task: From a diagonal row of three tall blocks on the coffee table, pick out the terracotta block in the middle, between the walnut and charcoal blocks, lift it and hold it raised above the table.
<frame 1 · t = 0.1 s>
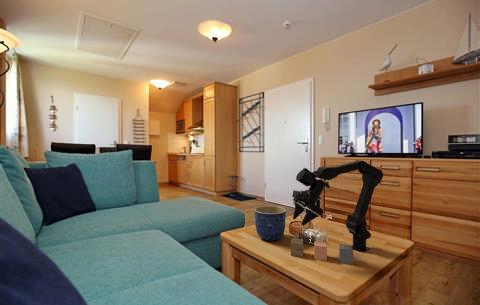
hand: (297, 221, 102), 15 cm above the table, tool tilted 30°, fingers open, 9 cm apart
walnut block: (297, 254, 103), on the table
walkie-talkie: (303, 241, 118), on the table
planter: (270, 237, 123), on the table
charcoal block: (345, 261, 96), on the table
terracotta block: (320, 257, 100), on the table
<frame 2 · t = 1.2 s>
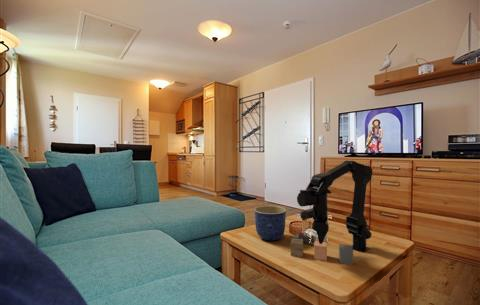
hand: (320, 239, 100), 8 cm above the table, tool pointing down, fingers open, 9 cm apart
nothing on the table moved.
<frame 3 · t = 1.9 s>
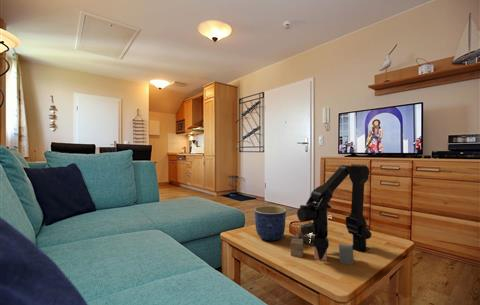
hand: (320, 254, 100), 1 cm above the table, tool pointing down, fingers open, 9 cm apart
nothing on the table moved.
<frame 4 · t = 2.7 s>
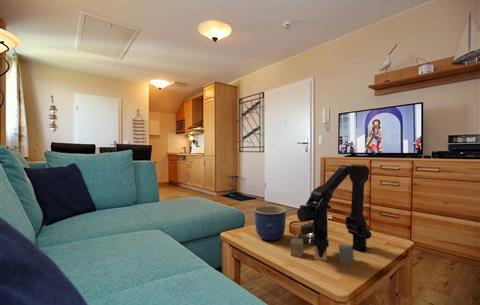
hand: (320, 254, 100), 1 cm above the table, tool pointing down, fingers closed on terracotta block, 5 cm apart
terracotta block: (320, 257, 100), on the table, touching gripper
everything else where it was.
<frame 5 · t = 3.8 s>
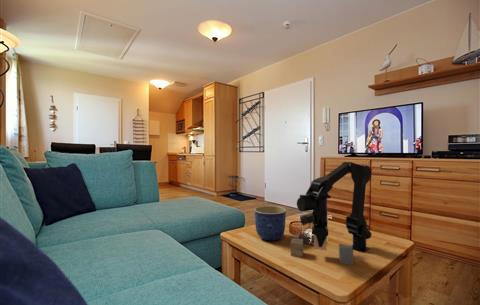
hand: (320, 244, 99), 6 cm above the table, tool pointing down, fingers closed on terracotta block, 5 cm apart
terracotta block: (320, 247, 99), point 4 cm above the table, touching gripper
everything else where it was.
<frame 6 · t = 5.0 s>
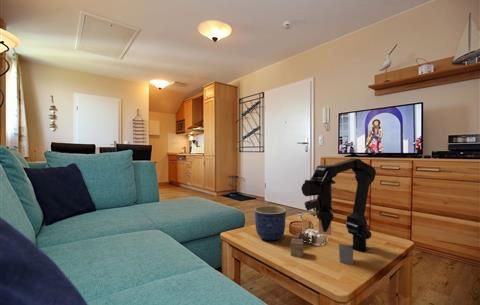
hand: (324, 229, 100), 12 cm above the table, tool pointing down, fingers closed on terracotta block, 5 cm apart
terracotta block: (324, 232, 100), point 11 cm above the table, touching gripper
everything else where it was.
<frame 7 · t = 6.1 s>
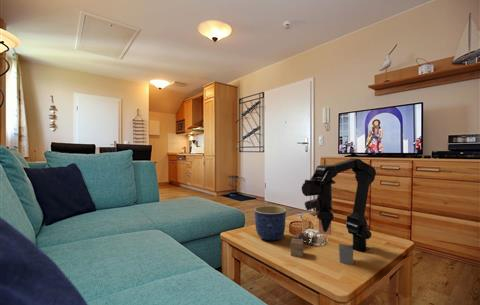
hand: (324, 229, 100), 12 cm above the table, tool pointing down, fingers closed on terracotta block, 5 cm apart
terracotta block: (324, 232, 100), point 11 cm above the table, touching gripper
everything else where it was.
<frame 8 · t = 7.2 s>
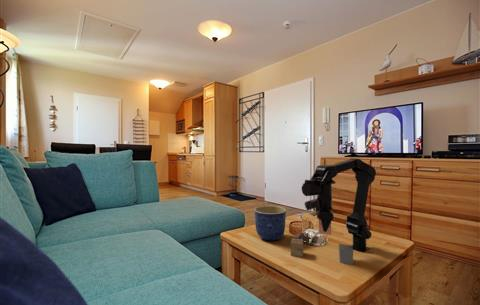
hand: (324, 229, 100), 12 cm above the table, tool pointing down, fingers closed on terracotta block, 5 cm apart
terracotta block: (324, 232, 100), point 11 cm above the table, touching gripper
everything else where it was.
at the end: terracotta block point 10.7 cm above the table; walnut block moved 0.1 cm from its start; charcoal block moved 0.1 cm from its start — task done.
